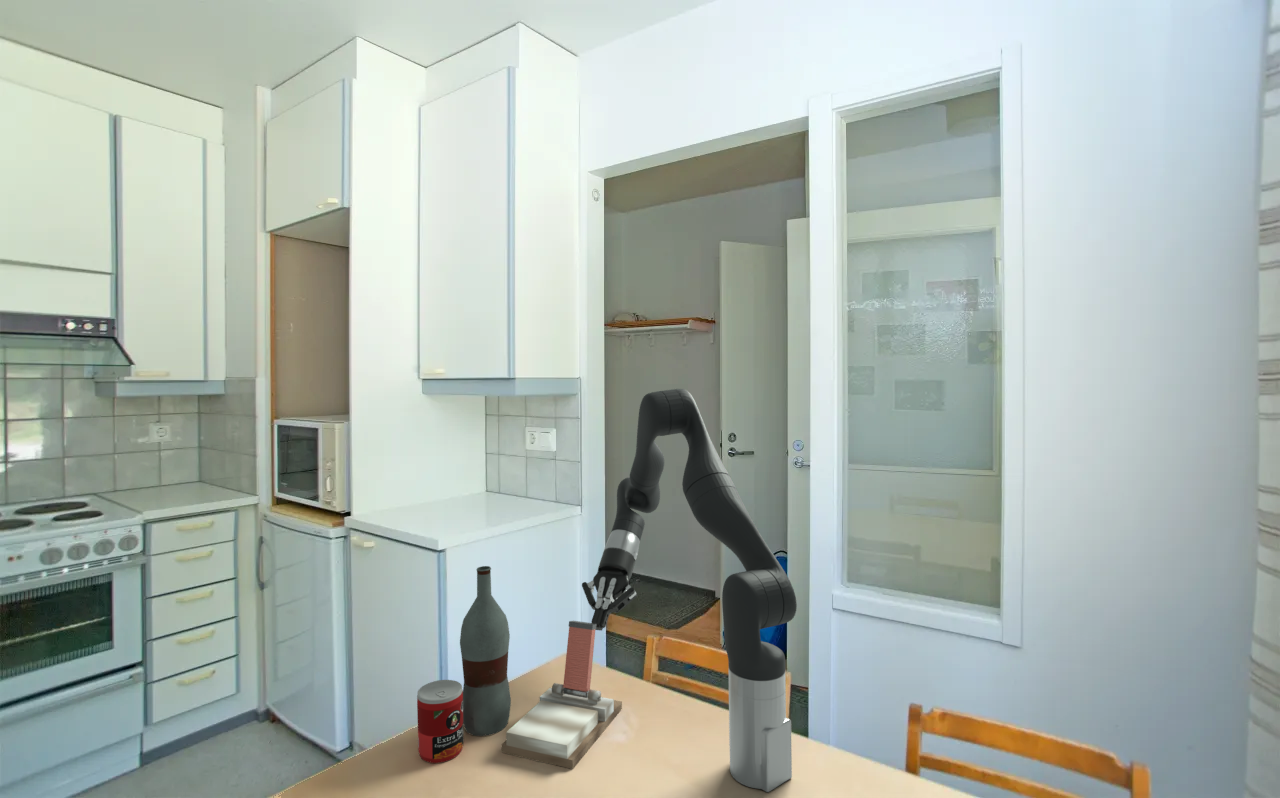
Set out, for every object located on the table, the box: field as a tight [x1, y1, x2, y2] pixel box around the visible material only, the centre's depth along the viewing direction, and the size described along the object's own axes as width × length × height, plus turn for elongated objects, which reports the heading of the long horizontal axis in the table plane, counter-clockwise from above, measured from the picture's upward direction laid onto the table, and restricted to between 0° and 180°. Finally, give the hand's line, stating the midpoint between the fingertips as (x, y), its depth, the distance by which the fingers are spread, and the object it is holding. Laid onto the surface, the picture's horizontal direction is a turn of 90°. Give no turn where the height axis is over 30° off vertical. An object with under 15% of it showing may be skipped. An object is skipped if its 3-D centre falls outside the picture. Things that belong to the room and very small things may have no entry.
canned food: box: [416, 679, 465, 764], centre depth 111 cm, size 8×8×11 cm
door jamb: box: [501, 682, 623, 770], centre depth 117 cm, size 21×14×6 cm, turn 159°
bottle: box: [459, 565, 512, 737], centre depth 119 cm, size 9×9×30 cm
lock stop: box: [563, 620, 597, 698], centre depth 123 cm, size 2×5×14 cm, turn 68°
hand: (597, 628), depth 130 cm, fingers closed
